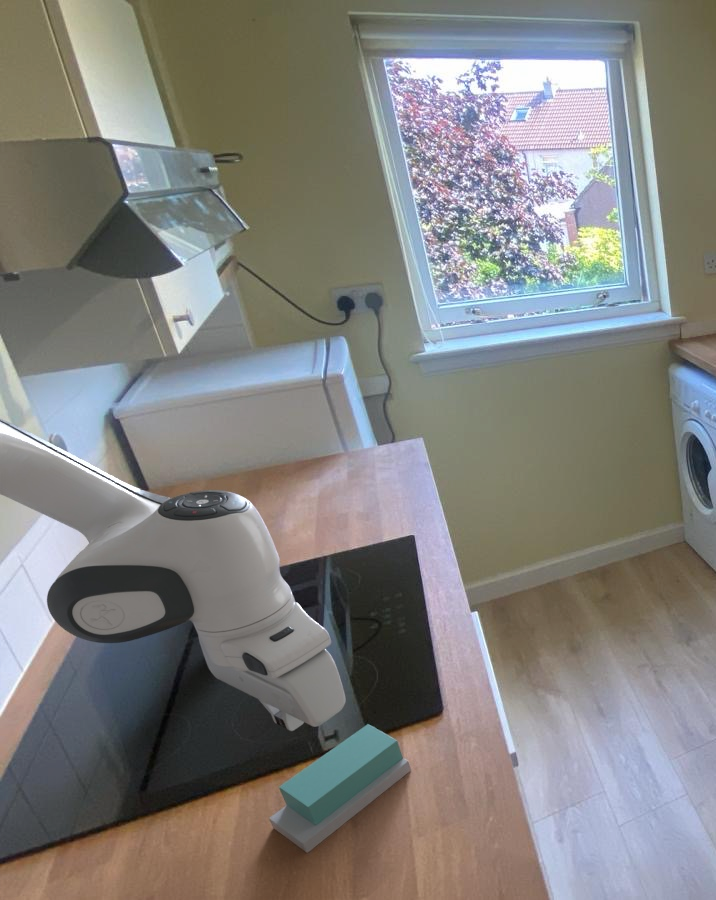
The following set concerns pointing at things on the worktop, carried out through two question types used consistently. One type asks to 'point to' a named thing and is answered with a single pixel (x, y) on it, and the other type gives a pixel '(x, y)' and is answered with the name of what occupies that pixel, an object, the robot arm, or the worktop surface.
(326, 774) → the whetstone
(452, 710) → the worktop surface
